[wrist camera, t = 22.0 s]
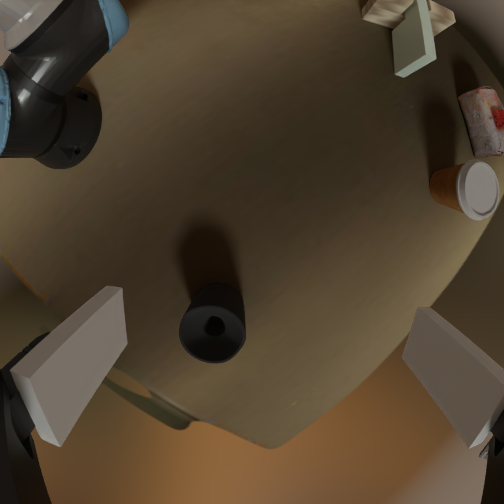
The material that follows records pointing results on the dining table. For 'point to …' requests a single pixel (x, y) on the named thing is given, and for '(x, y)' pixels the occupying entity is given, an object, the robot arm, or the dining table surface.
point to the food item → (484, 121)
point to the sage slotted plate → (413, 40)
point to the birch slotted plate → (392, 13)
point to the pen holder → (214, 324)
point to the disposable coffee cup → (467, 188)
